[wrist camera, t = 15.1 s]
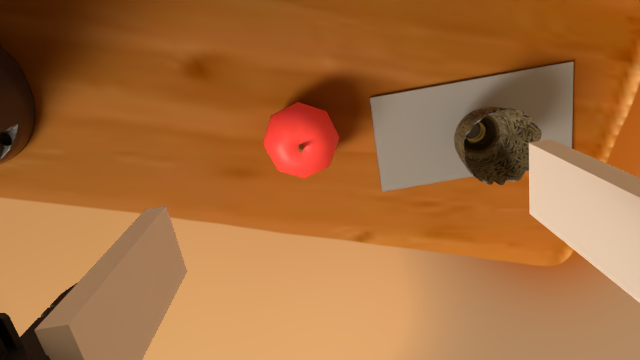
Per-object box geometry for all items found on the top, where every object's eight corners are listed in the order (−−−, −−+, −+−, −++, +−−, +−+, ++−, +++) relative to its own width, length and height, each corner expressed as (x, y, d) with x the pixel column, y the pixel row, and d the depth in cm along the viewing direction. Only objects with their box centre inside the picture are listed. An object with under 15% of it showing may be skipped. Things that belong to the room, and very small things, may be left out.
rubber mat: (382, 190, 50) (382, 191, 50) (369, 97, 47) (370, 98, 46) (569, 157, 49) (571, 159, 49) (570, 61, 46) (573, 61, 45)
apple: (351, 128, 48) (360, 146, 40) (306, 179, 50) (306, 205, 42) (297, 81, 46) (295, 90, 38) (251, 136, 48) (241, 155, 40)
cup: (455, 87, 46) (484, 98, 38) (516, 108, 47) (556, 122, 39) (429, 151, 48) (451, 173, 41) (488, 169, 49) (520, 194, 42)
